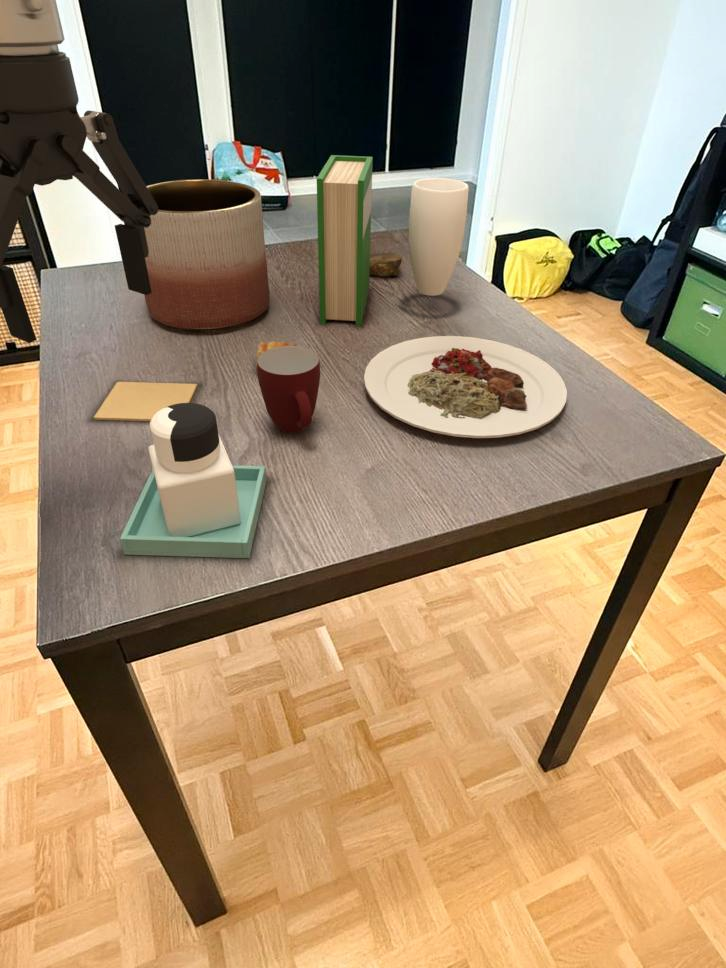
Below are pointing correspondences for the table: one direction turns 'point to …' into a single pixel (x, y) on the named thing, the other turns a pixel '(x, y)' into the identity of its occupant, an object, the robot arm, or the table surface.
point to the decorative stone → (384, 264)
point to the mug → (289, 385)
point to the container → (192, 471)
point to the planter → (206, 255)
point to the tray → (235, 541)
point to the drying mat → (142, 400)
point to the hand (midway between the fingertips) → (86, 313)
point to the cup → (436, 231)
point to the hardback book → (344, 237)
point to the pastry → (269, 347)
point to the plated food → (465, 386)
